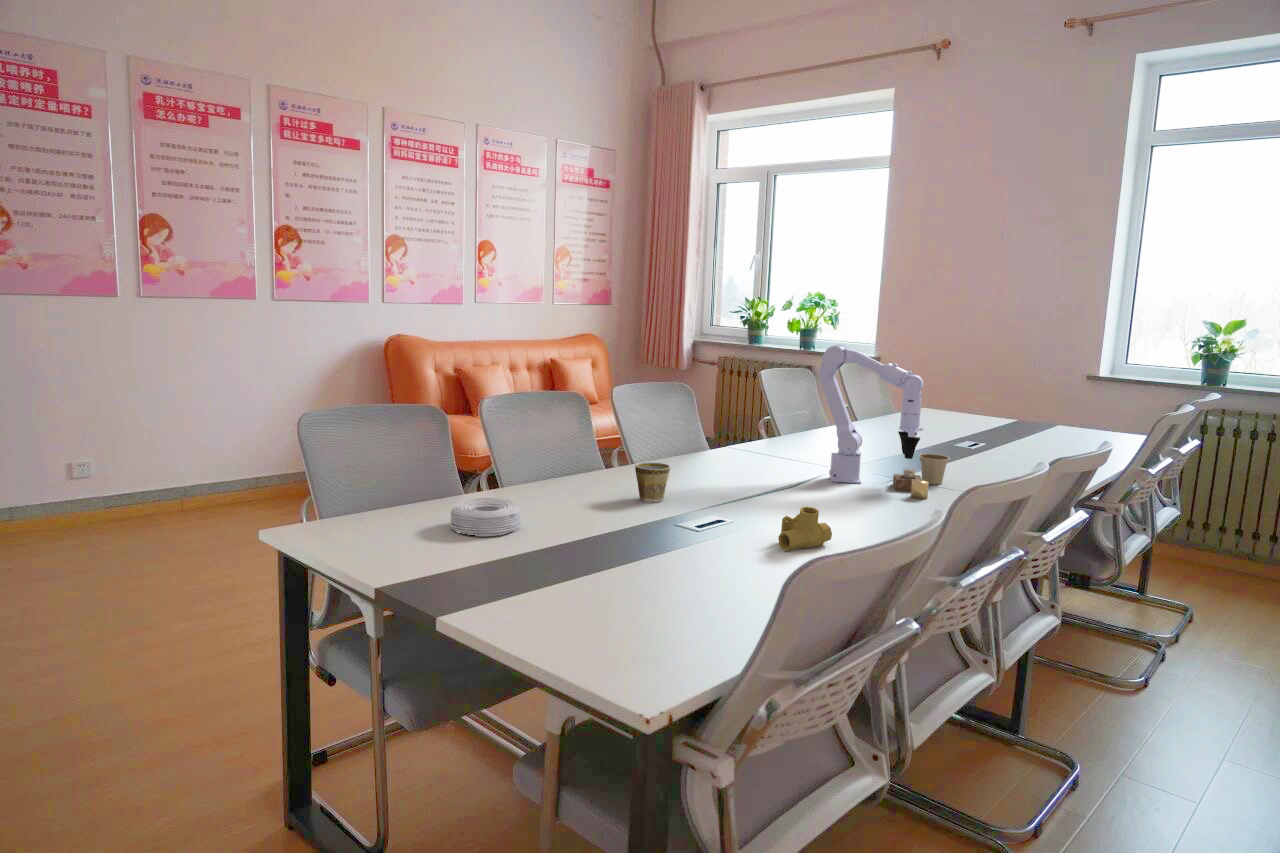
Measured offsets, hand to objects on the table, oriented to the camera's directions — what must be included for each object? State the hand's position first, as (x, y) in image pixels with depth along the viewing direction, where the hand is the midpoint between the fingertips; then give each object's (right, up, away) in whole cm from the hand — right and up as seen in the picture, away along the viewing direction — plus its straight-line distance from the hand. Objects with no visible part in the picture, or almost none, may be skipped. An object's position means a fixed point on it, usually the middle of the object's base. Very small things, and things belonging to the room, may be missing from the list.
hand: (907, 456), depth 269 cm
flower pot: (+11, -9, +9) cm, 17 cm away
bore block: (0, -10, 0) cm, 10 cm away
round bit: (0, -12, -12) cm, 17 cm away
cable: (-122, -16, -56) cm, 136 cm away
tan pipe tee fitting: (-46, -19, -64) cm, 81 cm away
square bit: (0, -10, 0) cm, 10 cm away
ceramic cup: (-80, -12, -22) cm, 84 cm away
